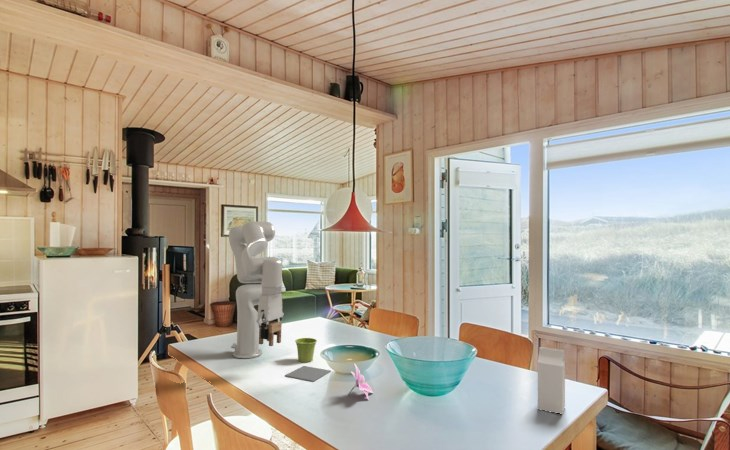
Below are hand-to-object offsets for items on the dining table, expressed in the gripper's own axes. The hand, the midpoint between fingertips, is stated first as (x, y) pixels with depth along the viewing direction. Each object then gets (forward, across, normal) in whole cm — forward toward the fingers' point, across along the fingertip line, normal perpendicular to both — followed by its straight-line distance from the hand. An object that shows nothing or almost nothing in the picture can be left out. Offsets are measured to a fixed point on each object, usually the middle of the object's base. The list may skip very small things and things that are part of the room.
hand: (270, 336), depth 157 cm
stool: (+3, 0, 0) cm, 3 cm away
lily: (+14, +3, +41) cm, 44 cm away
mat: (+14, -7, +13) cm, 21 cm away
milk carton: (+13, -15, +100) cm, 102 cm away
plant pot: (+15, -21, +3) cm, 26 cm away
